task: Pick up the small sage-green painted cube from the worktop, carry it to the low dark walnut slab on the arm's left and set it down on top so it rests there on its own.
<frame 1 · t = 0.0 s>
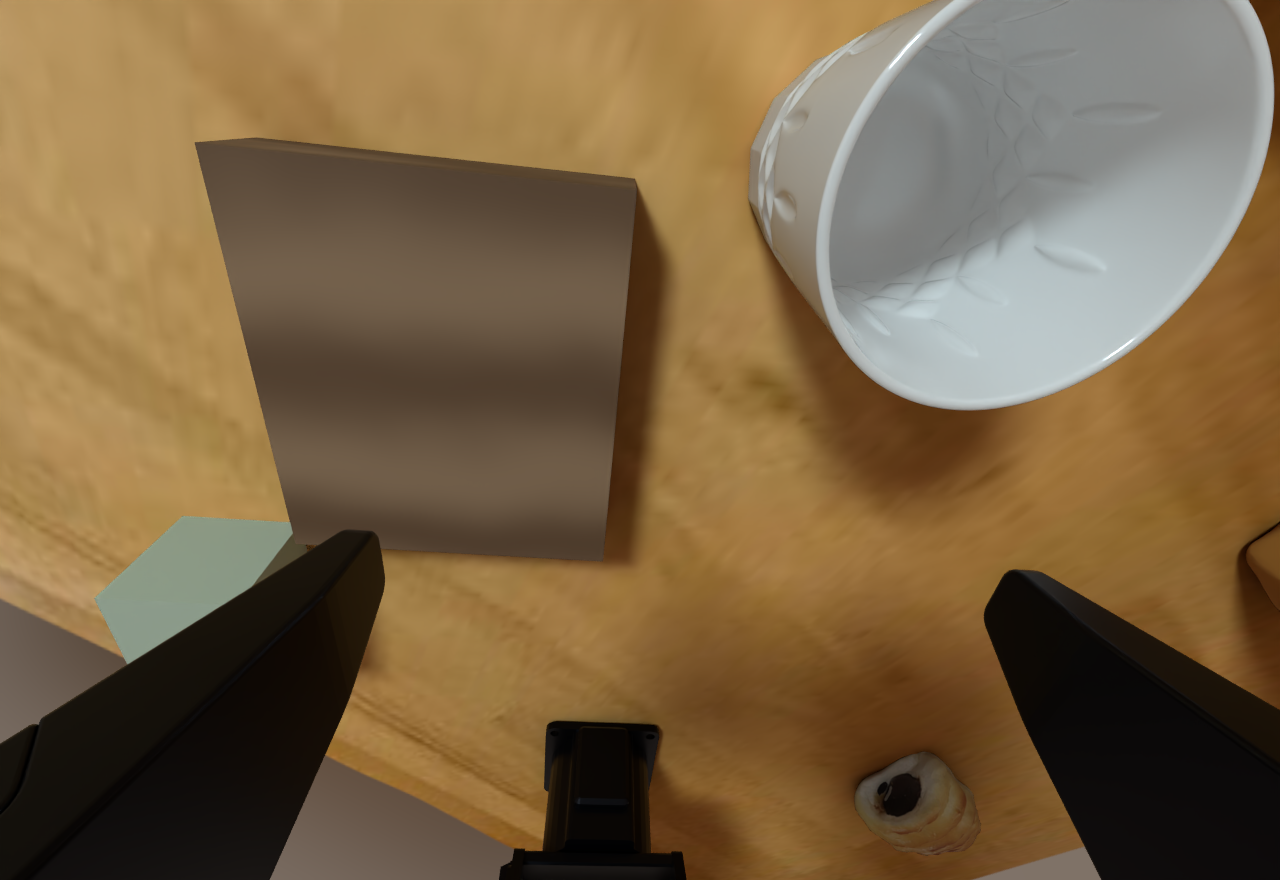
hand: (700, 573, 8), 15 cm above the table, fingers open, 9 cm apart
walnut block: (461, 360, 22), on the table
sage cube: (256, 561, 27), on the table
white cup: (845, 168, 19), on the table
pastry: (911, 782, 38), on the table
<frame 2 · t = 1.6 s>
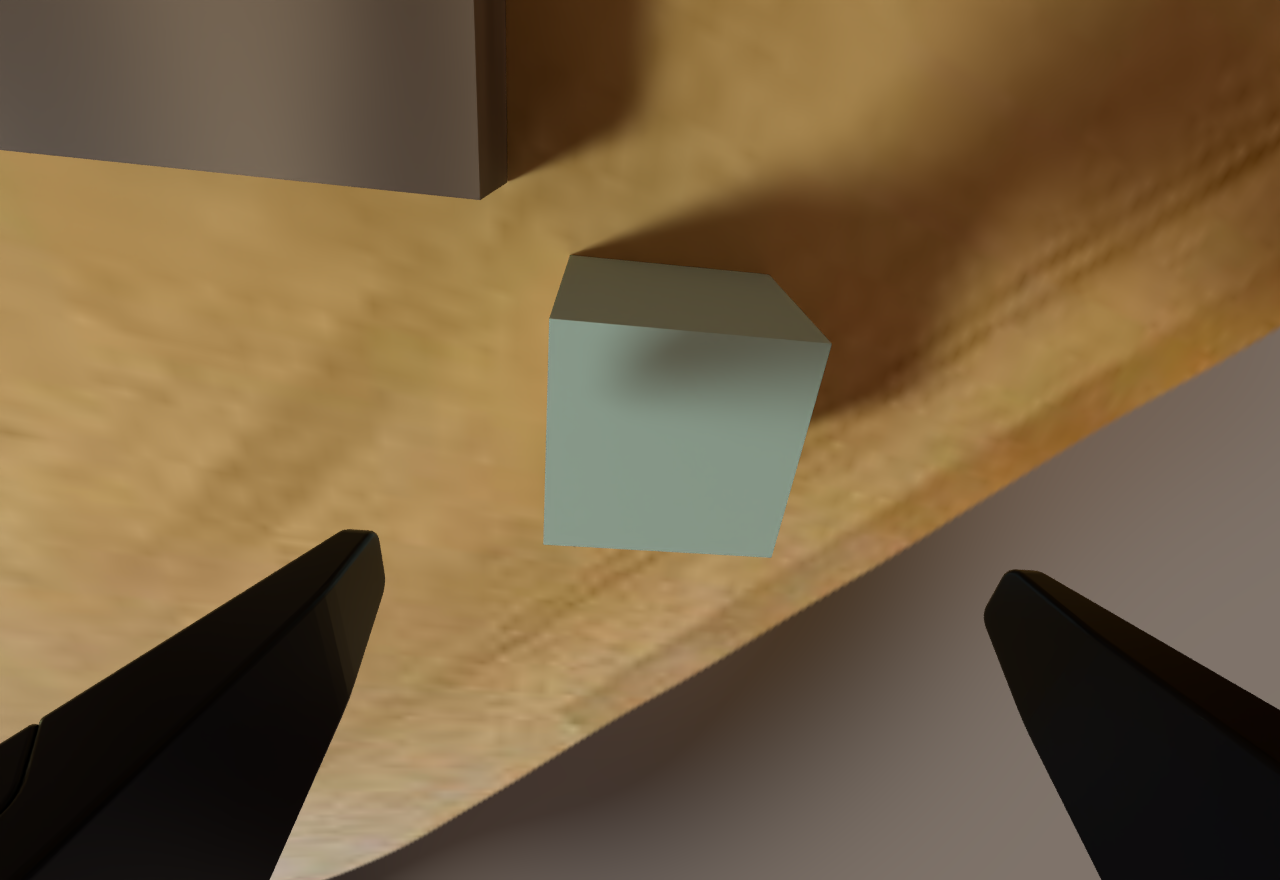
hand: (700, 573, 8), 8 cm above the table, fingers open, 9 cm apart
sage cube: (658, 357, 16), on the table
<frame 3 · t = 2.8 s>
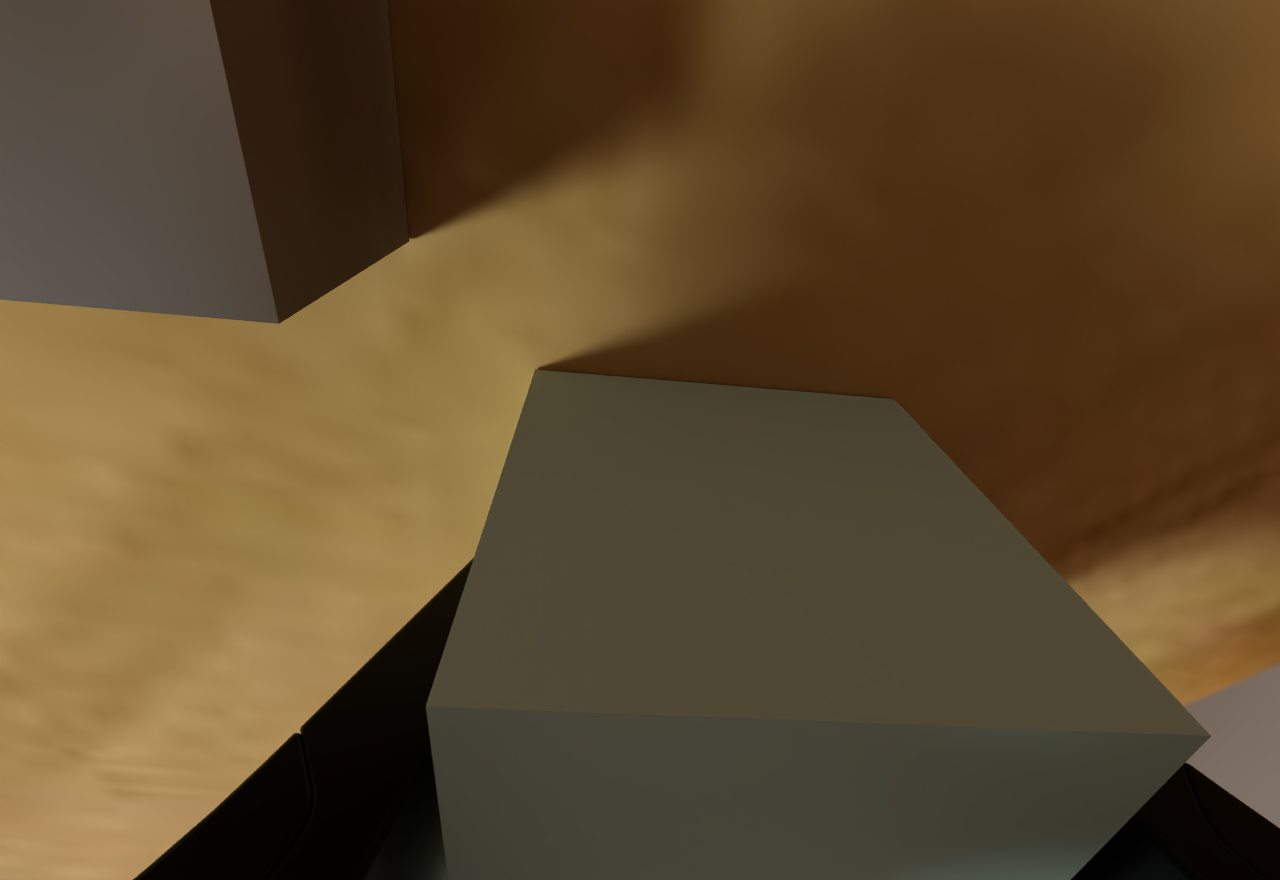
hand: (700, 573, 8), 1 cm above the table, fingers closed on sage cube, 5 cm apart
sage cube: (692, 528, 9), on the table, touching gripper
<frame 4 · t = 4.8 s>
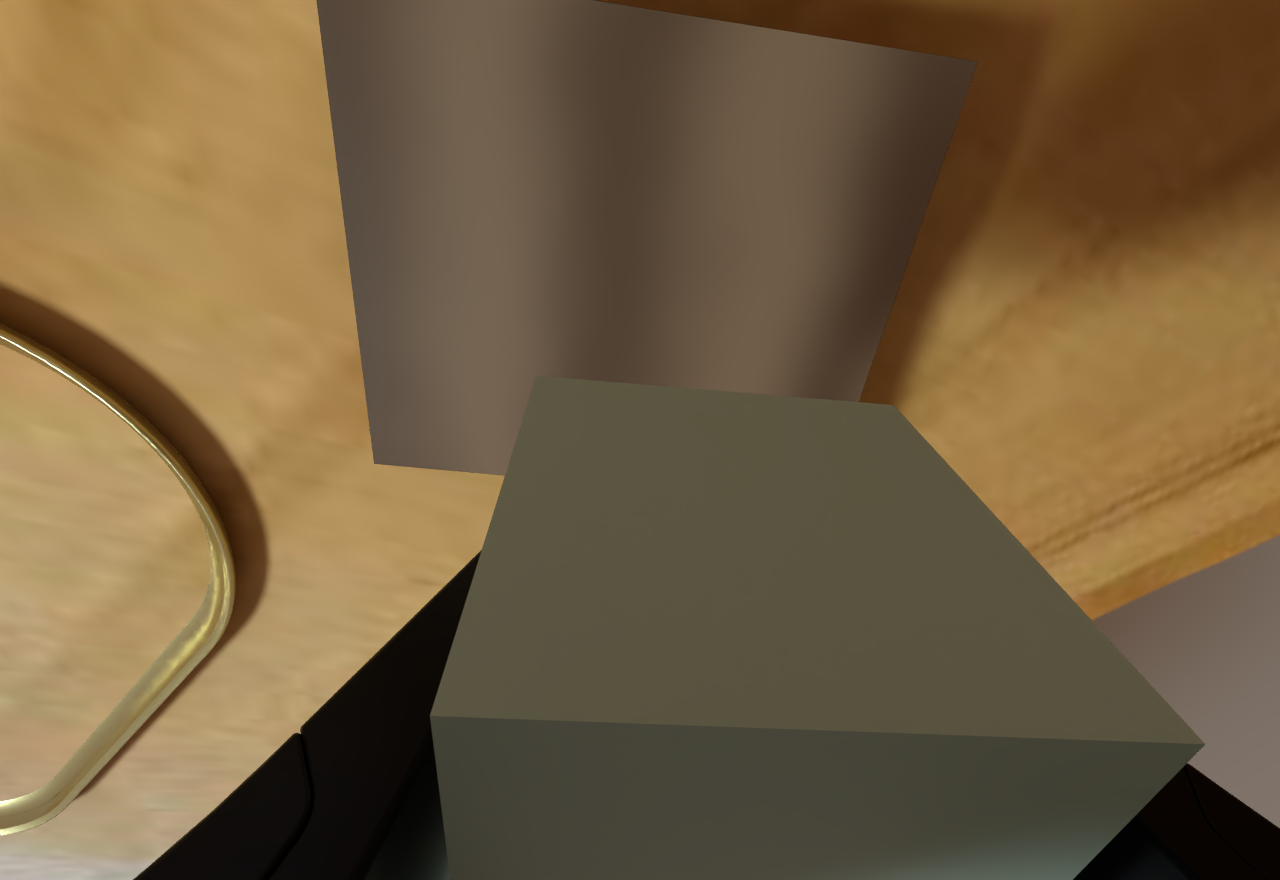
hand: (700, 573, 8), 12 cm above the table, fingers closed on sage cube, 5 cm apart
walnut block: (627, 267, 18), on the table
sage cube: (692, 532, 9), point 11 cm above the table, touching gripper
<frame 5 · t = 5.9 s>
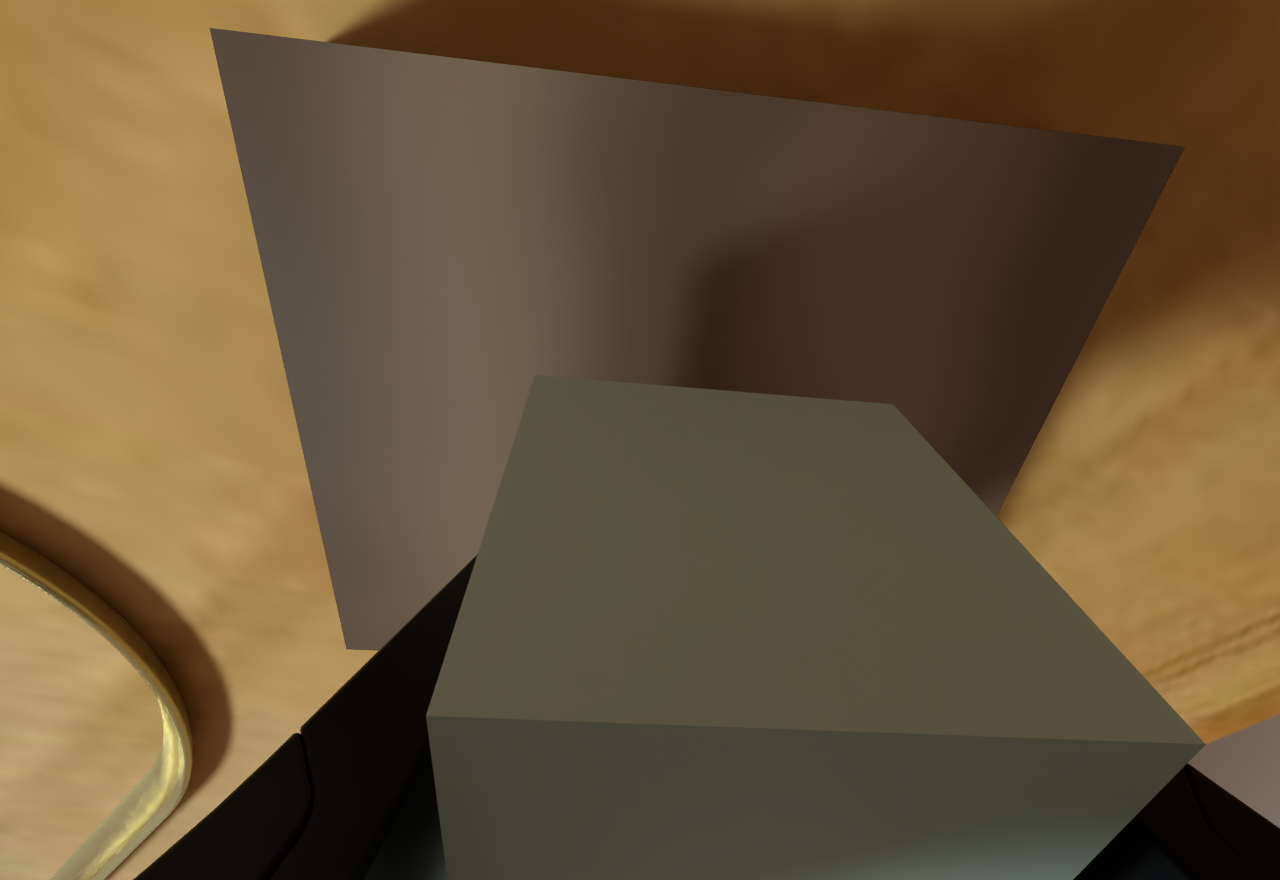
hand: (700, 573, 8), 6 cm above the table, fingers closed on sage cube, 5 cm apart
walnut block: (663, 387, 14), on the table
sage cube: (691, 532, 9), point 5 cm above the table, touching gripper
when the fingers open (5 cm above the table, at t = 6.6 s): sage cube stays where it is, resting on walnut block.
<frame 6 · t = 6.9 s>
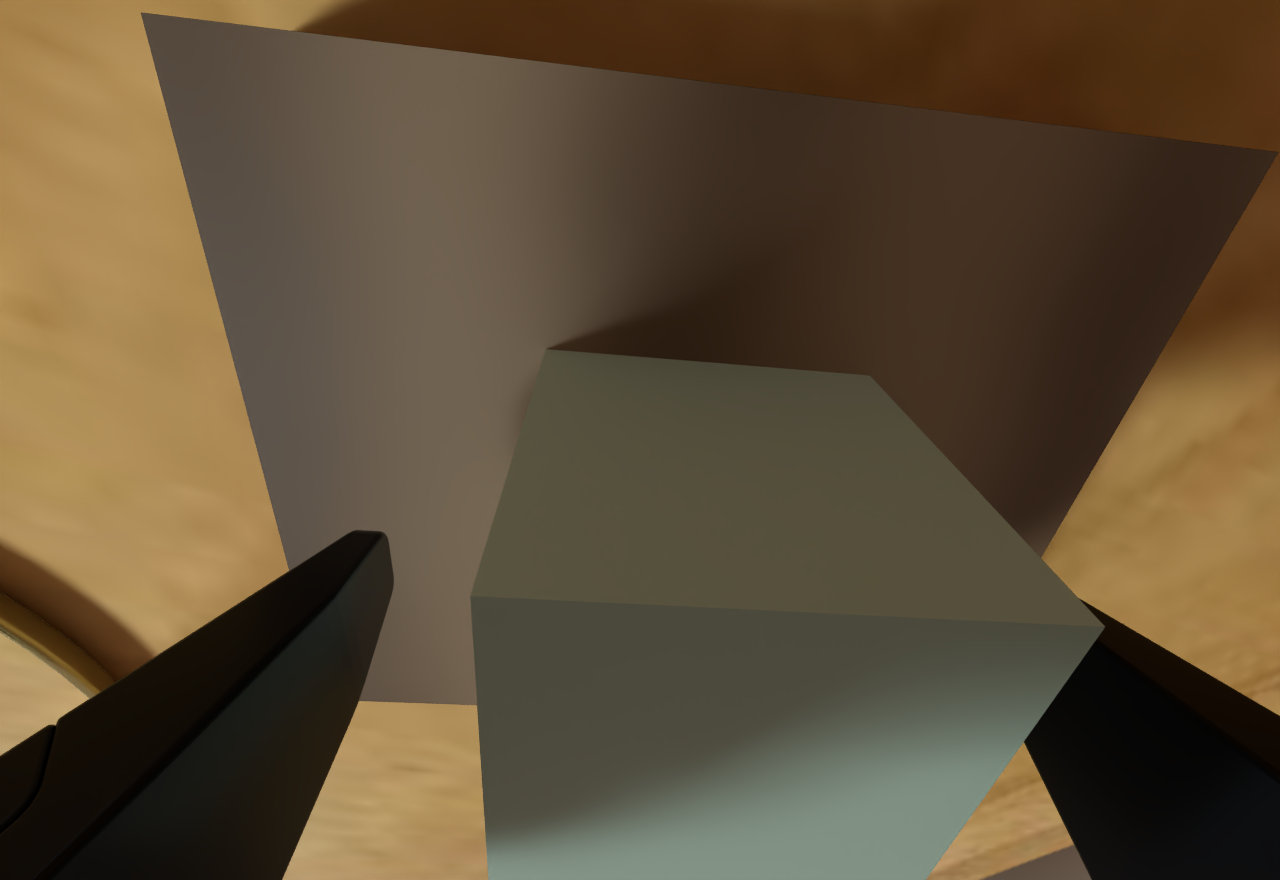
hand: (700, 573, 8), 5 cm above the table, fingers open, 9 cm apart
walnut block: (671, 412, 13), on the table
sage cube: (688, 496, 10), point 3 cm above the table, touching walnut block
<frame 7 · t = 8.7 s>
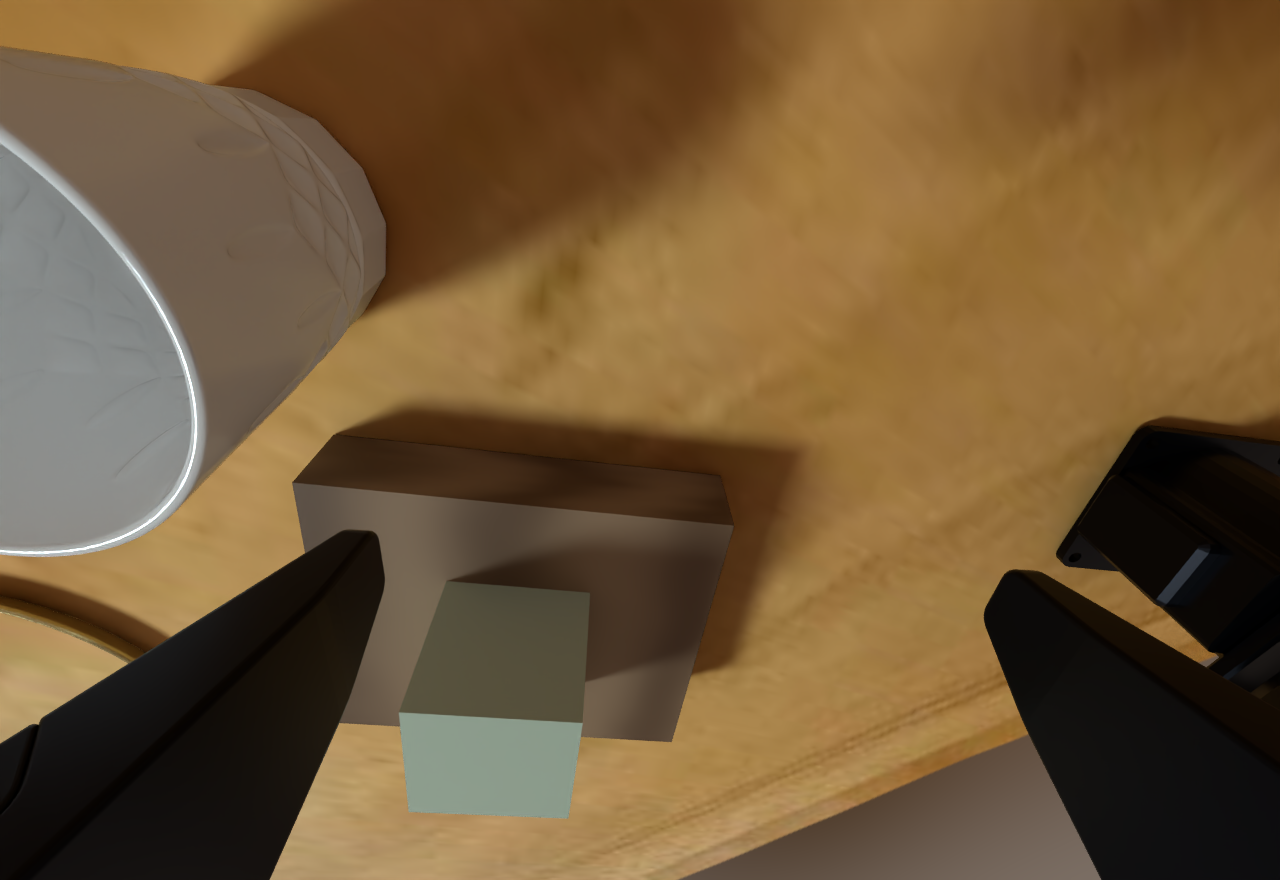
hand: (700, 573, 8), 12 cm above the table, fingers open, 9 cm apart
walnut block: (525, 577, 24), on the table
sage cube: (516, 636, 21), point 3 cm above the table, touching walnut block
white cup: (274, 222, 17), on the table
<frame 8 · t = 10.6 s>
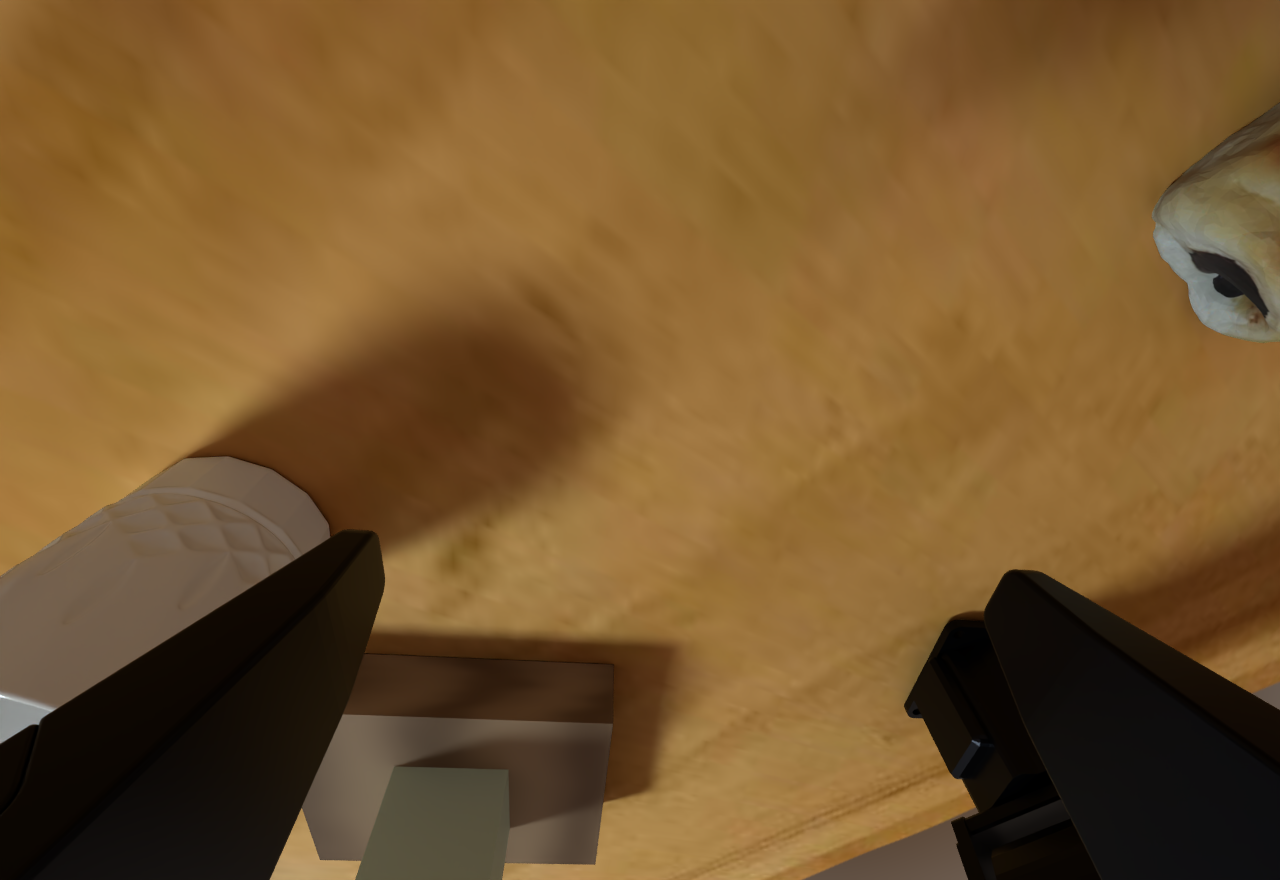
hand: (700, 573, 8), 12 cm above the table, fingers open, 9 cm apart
walnut block: (468, 737, 29), on the table
sage cube: (455, 799, 27), point 3 cm above the table, touching walnut block
white cup: (246, 523, 23), on the table
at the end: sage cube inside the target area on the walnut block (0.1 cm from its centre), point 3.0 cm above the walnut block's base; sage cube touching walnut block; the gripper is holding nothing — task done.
